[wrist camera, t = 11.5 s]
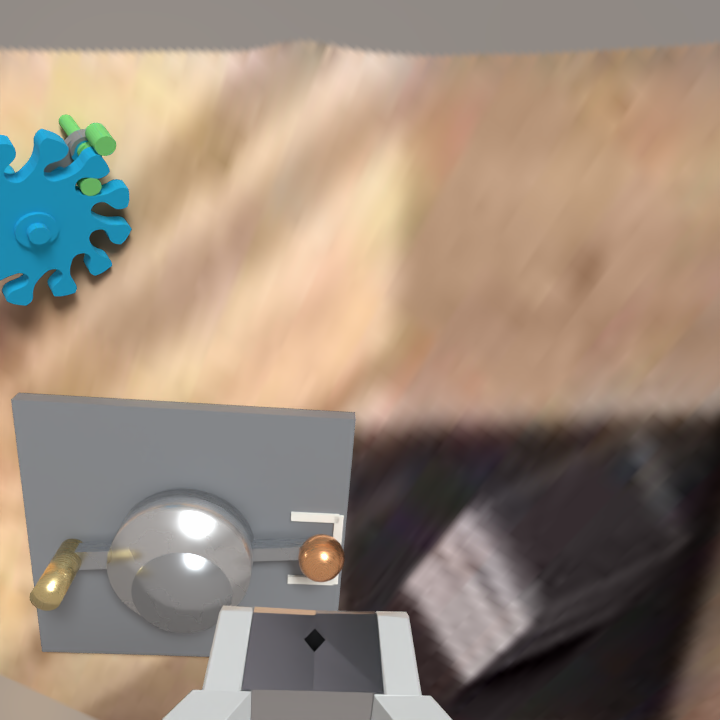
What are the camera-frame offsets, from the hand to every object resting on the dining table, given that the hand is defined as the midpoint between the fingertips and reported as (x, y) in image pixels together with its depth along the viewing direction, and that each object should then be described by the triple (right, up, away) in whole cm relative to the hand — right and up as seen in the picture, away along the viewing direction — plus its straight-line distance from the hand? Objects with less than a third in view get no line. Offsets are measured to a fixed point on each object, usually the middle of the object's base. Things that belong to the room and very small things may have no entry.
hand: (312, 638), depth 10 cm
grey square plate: (-11, -7, +34) cm, 36 cm away
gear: (-16, +13, +26) cm, 33 cm away
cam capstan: (-10, -8, +33) cm, 35 cm away
